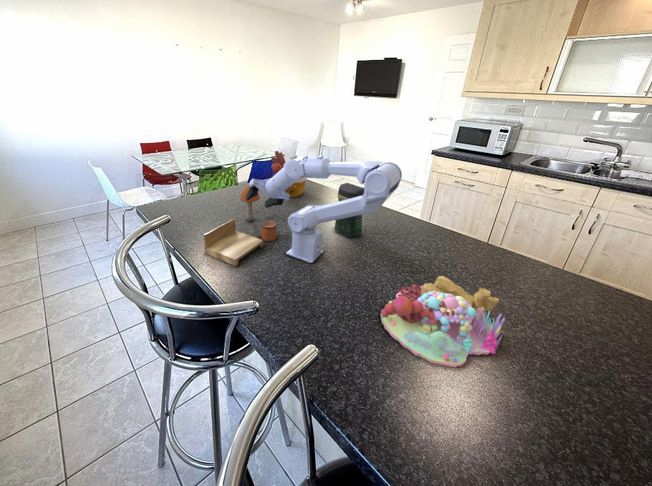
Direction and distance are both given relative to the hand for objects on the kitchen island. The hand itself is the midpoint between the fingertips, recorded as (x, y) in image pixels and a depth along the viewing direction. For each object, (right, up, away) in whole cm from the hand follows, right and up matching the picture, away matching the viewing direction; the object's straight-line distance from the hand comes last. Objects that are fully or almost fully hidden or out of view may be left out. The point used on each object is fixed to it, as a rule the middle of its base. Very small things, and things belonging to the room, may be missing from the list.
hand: (256, 201), depth 101 cm
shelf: (-7, -16, -4) cm, 18 cm away
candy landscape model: (+46, -30, -32) cm, 64 cm away
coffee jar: (+33, -11, +9) cm, 36 cm away
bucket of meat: (+12, +5, +45) cm, 46 cm away
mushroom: (-4, -7, +16) cm, 18 cm away
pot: (+4, -13, +4) cm, 14 cm away
